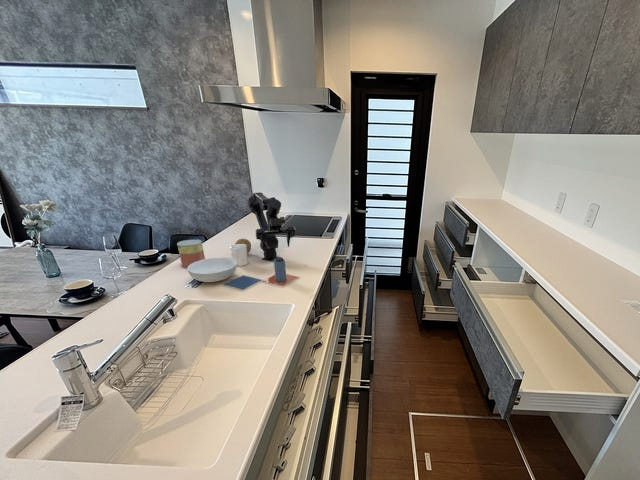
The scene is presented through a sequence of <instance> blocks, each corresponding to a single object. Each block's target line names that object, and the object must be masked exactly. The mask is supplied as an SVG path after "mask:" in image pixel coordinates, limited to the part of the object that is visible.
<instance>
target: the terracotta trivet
mask: <svg viewBox="0 0 640 480" xmlns="http://www.w3.org/2000/svg"><path fill="white" fill-rule="evenodd" d="M286 278H287V280H286V281H285V282H277V281H276V278H275V274H273V275H272V276H270V277H268V278H266V279H264V280H263V282H264V283H268V284H272V285H276V286H280V287H284V286H286V285H288V284H290V283H291V282H293V281H294V280H297V279H298V278H299V276H296V275H293V274H292V275H291V274H287V273H286Z"/></svg>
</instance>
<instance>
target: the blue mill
mask: <svg viewBox="0 0 640 480" xmlns="http://www.w3.org/2000/svg"><path fill="white" fill-rule="evenodd" d="M273 267H274V275H275V278H276V281H277V282H285V281H286V280H287V278H286V274H287V267H286V259H285V258H284V257H282V256H277V258H275V259H274V260H273Z"/></svg>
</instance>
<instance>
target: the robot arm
mask: <svg viewBox="0 0 640 480" xmlns="http://www.w3.org/2000/svg"><path fill="white" fill-rule="evenodd" d="M247 207H248V209H249V210H250V212H251V213H252V214H254V215H255V218H256V221H257V223H258V226H259V228H256V229H255V238H256V240H259V241H260V243H259V246H260V249H261V250H262V251H263V257H262V258H261V259H262V260H265V261H269V262H272V261H274V260H275V258H277V257H278V254H277V250H276V249H279V239H278V237H277V235H286V245H287V248H289V247H290V245H291V244H290V243H291V239H292V238H293V237H294V236H295V235H296V231H297V229H296V227H295V226H294V225H291V226H289V225H288V226H286V229H282V228H283V225H285V224H286V219H285V216H280V217H279V214H280V211H281V208H282V202H281V201H280V200H279V199H276V197H274V196H272V197H267V196H266V195H264V194H263V192H252V195H250V197H248V200H247ZM265 211H266V212H265Z"/></svg>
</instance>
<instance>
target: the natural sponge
mask: <svg viewBox="0 0 640 480" xmlns="http://www.w3.org/2000/svg"><path fill="white" fill-rule="evenodd" d="M235 244H245V245H246V247H247V255H248V254H250V252H251V249H252V242H251V241H250V240H249V239H248V238H239V239H238V240H236V241H235V243H234V245H235Z"/></svg>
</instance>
